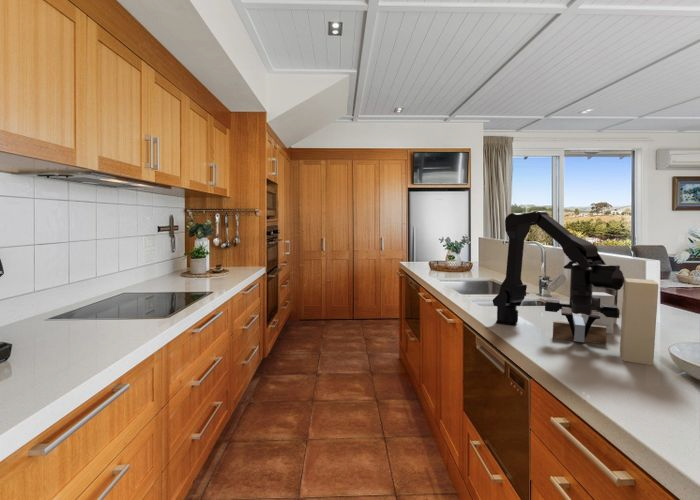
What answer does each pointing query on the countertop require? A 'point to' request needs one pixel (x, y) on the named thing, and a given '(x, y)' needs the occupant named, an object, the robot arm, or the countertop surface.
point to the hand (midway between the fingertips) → (579, 336)
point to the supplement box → (603, 319)
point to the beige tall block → (638, 320)
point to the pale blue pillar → (579, 329)
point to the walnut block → (564, 332)
